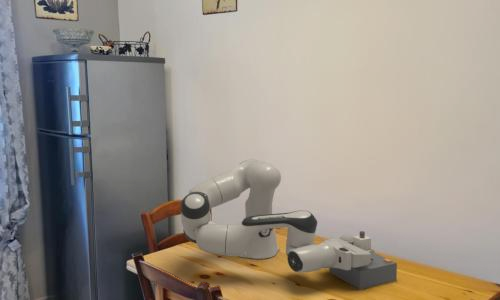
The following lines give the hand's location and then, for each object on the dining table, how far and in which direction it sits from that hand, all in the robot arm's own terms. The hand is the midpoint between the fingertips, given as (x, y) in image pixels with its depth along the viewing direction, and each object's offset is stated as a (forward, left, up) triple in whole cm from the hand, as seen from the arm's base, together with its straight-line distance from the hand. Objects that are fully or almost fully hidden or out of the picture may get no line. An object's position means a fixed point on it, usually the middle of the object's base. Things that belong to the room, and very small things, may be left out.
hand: (364, 247), depth 168 cm
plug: (0, -1, -8) cm, 8 cm away
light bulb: (-17, +5, -11) cm, 21 cm away
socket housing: (0, -1, -11) cm, 11 cm away
